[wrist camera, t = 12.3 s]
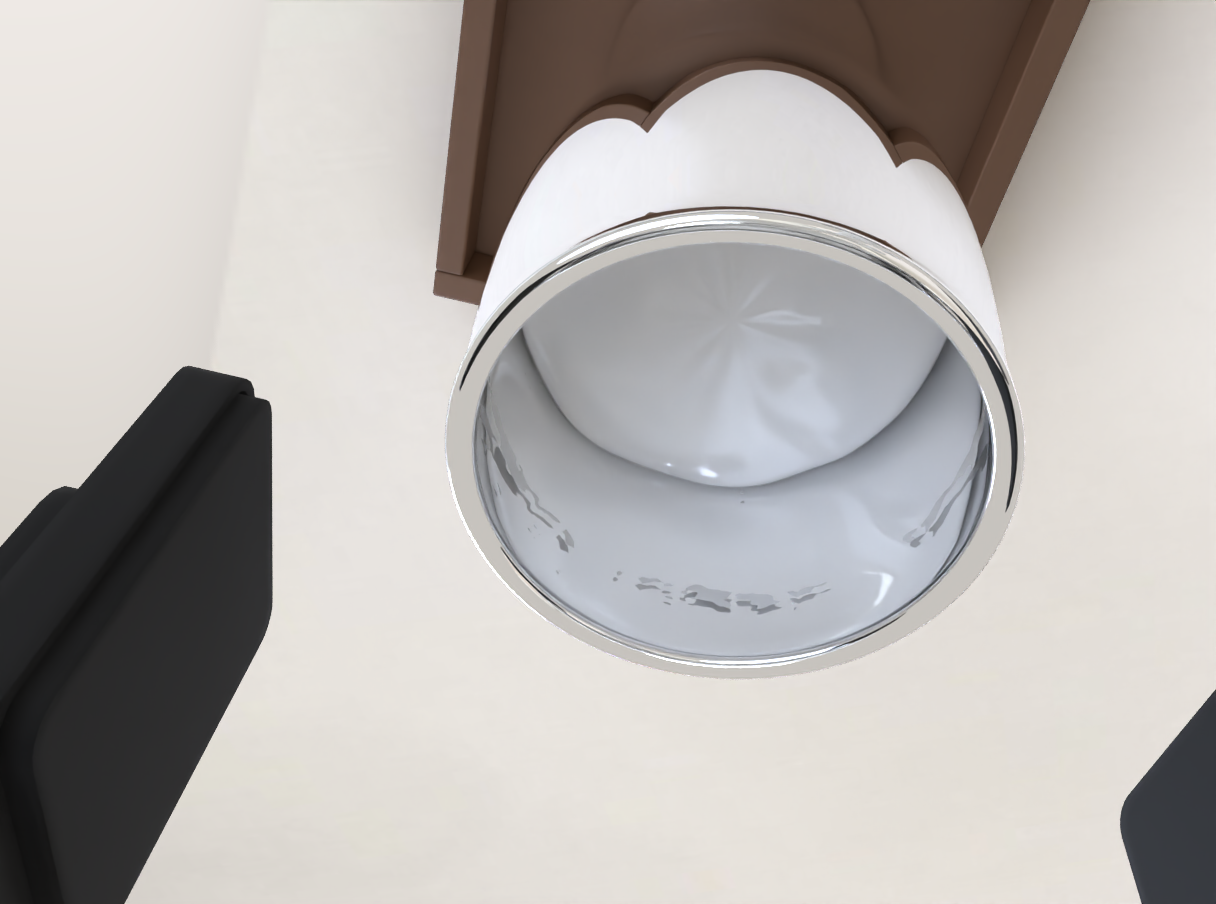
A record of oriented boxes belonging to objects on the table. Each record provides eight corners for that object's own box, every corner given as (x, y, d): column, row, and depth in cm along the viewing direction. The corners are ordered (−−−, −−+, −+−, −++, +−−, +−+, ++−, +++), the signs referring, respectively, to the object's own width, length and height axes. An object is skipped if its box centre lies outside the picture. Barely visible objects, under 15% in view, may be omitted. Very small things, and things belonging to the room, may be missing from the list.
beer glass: (539, 139, 26) (340, 546, 13) (689, -150, 22) (602, 54, 10) (783, 279, 27) (804, 762, 15) (965, 30, 23) (1197, 407, 11)
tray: (514, -301, 21) (494, -300, 19) (1124, -155, 21) (1154, -142, 20) (450, 260, 28) (432, 295, 27) (904, 364, 28) (912, 405, 27)
